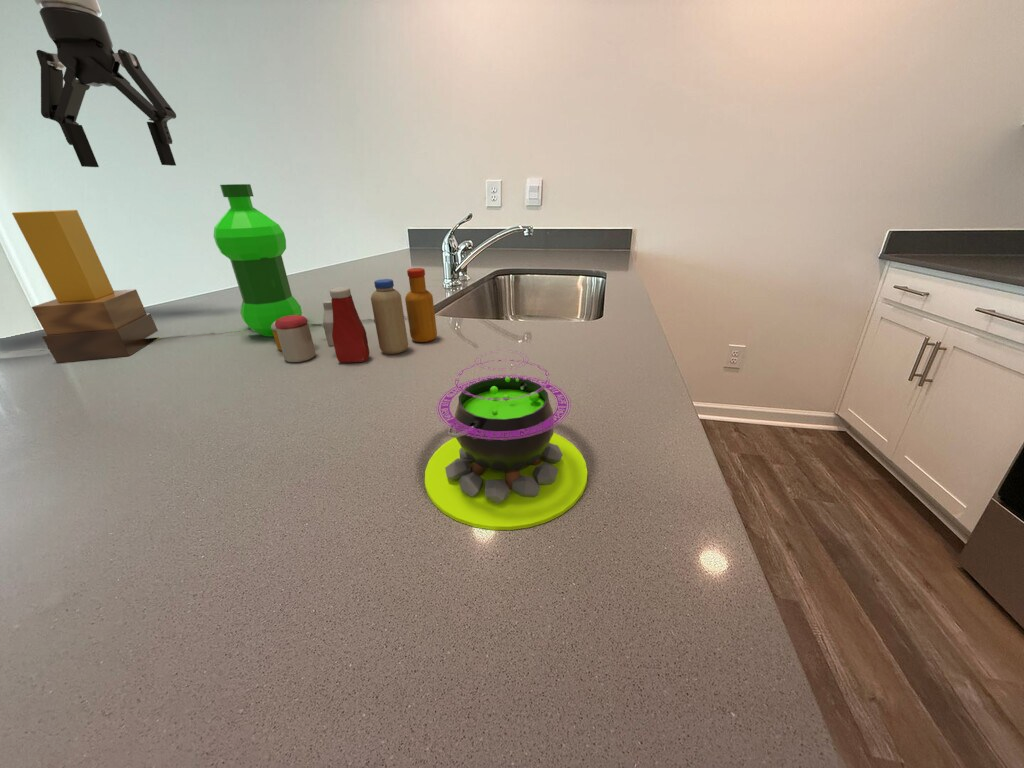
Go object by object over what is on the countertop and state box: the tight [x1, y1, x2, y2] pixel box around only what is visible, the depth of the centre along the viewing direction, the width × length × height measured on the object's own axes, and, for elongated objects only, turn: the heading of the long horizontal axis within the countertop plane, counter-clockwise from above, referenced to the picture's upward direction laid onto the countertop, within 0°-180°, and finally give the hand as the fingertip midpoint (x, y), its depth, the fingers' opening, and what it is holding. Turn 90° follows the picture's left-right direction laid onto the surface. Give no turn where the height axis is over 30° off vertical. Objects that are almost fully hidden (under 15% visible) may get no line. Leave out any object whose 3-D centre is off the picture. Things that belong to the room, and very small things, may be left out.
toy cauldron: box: [424, 349, 589, 531], centre depth 35 cm, size 15×15×11 cm
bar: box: [11, 209, 115, 302], centre depth 63 cm, size 5×5×13 cm
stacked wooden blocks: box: [31, 288, 160, 364], centre depth 68 cm, size 10×10×9 cm
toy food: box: [271, 267, 438, 364], centre depth 65 cm, size 27×13×12 cm, turn 92°
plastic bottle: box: [213, 183, 303, 338], centre depth 71 cm, size 10×10×25 cm
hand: (130, 166), depth 73 cm, fingers open, 13 cm apart
